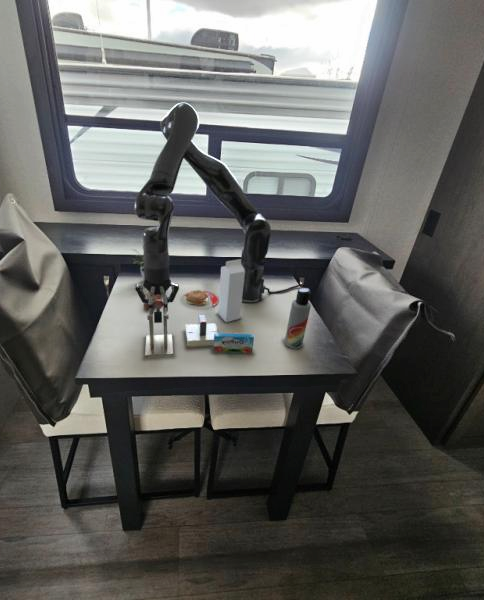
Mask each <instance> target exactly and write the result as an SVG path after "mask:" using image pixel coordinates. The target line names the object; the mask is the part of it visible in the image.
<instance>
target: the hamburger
mask: <svg viewBox="0 0 484 600" xmlns="http://www.w3.org/2000/svg"><path fill="white" fill-rule="evenodd" d="M183 296H184V297H186V303H187V304H189V305H194V306H195V305H196V306H201V305H208V304H209V298H210V301H211V305H212V306H213V307H214V306H216V305H217V304H218V303H219V297H218V296H217V295H216V294H213V293H212V292H208V291H203V290H201V289H195V290H191V291H189V292H188V293H186V294H184V295H183Z"/></svg>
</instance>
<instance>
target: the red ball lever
mask: <svg viewBox="0 0 484 600" xmlns="http://www.w3.org/2000/svg"><path fill="white" fill-rule="evenodd" d="M153 306H154V309H155V311H154V314H153V324H161V323H163V310H162V311H161V309H163V299H161V298H160V299H157V300H155V301H154V302H153Z"/></svg>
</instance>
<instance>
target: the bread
mask: <svg viewBox="0 0 484 600" xmlns="http://www.w3.org/2000/svg"><path fill="white" fill-rule="evenodd" d="M146 297H147V298H149V292H148V291H147V294H146ZM161 298H162V295H159V294H157V295H154V297H153V302H154V301H155V300H157V299H160V300H161ZM143 308H144V309H145V310H146V311H149V305H148V303H143ZM153 309H154V310H155V308H154V306H153Z"/></svg>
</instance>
